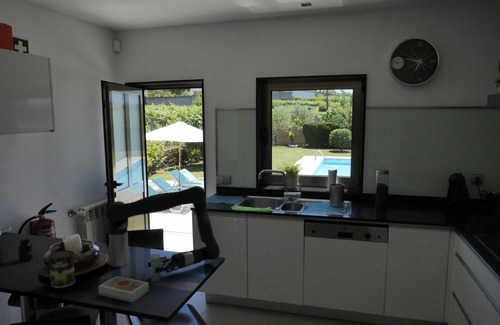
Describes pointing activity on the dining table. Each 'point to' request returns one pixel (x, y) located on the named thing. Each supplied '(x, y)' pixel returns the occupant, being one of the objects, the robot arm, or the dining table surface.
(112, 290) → the open box
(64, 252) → the coffee can
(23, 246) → the supplement bottle
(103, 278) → the dining table surface
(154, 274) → the teal capped tube
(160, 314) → the dining table surface
